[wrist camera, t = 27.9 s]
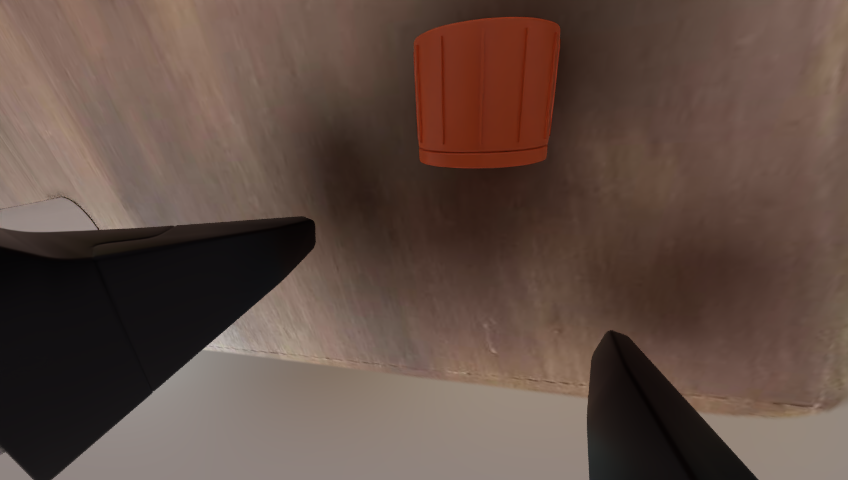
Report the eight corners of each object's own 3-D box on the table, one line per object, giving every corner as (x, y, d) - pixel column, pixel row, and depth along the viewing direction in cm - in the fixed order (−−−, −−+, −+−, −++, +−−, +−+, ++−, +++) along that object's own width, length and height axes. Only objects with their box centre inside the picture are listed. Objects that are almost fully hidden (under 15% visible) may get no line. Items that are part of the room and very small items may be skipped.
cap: (554, 4, 6) (537, 171, 7) (564, 39, 9) (551, 150, 10) (386, 34, 8) (396, 166, 9) (444, 55, 11) (446, 150, 12)
